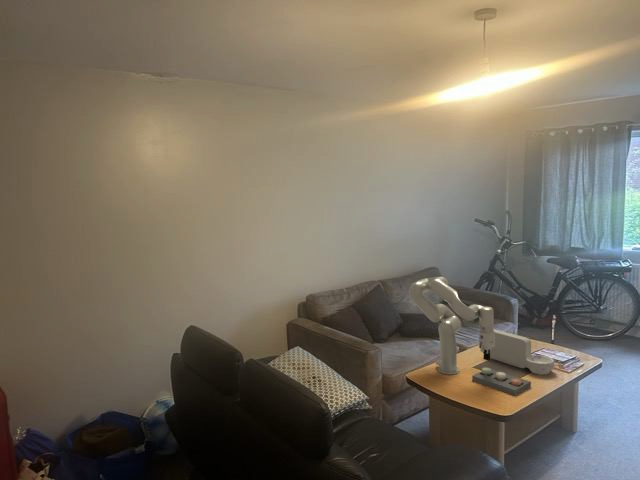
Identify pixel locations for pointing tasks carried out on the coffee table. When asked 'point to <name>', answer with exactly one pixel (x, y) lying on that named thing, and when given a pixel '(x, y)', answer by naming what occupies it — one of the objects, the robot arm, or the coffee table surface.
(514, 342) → the rounded white slab
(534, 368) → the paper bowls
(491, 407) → the coffee table surface
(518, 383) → the terracotta button
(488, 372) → the sage button
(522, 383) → the console
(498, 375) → the cream button
